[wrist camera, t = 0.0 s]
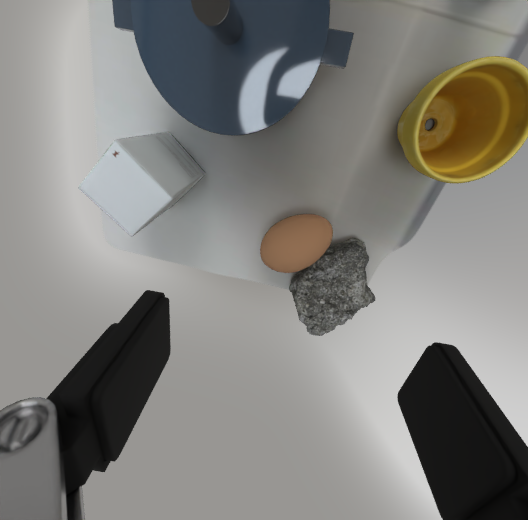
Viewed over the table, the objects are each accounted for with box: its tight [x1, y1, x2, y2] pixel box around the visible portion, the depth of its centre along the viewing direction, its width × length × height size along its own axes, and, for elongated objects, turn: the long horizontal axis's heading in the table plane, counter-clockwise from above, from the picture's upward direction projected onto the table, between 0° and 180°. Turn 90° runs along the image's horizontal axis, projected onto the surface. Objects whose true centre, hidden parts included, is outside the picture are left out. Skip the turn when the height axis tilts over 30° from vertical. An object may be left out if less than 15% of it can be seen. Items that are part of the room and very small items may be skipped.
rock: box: [289, 239, 375, 336], centre depth 42 cm, size 13×13×10 cm
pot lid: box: [130, 0, 330, 135], centre depth 20 cm, size 17×17×7 cm
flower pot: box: [397, 56, 528, 183], centre depth 28 cm, size 10×10×10 cm
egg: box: [260, 214, 333, 273], centre depth 38 cm, size 8×8×11 cm
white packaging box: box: [78, 132, 205, 236], centre depth 33 cm, size 7×7×13 cm
